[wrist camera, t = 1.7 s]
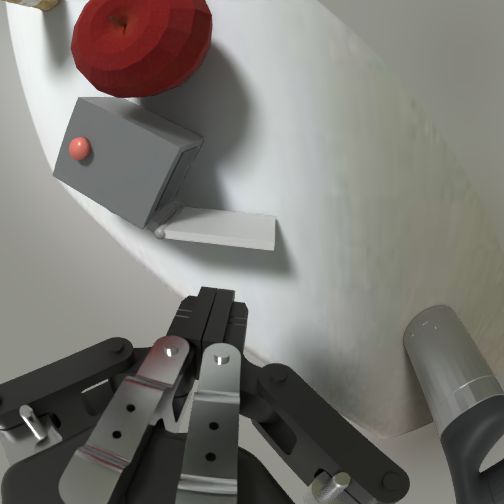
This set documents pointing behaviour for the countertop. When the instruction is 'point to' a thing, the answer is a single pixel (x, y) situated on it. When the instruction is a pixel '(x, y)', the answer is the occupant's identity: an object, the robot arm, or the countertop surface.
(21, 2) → the sprinkles bottle
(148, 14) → the apple
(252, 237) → the side door
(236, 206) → the countertop surface
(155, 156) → the grey box with button
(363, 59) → the countertop surface
